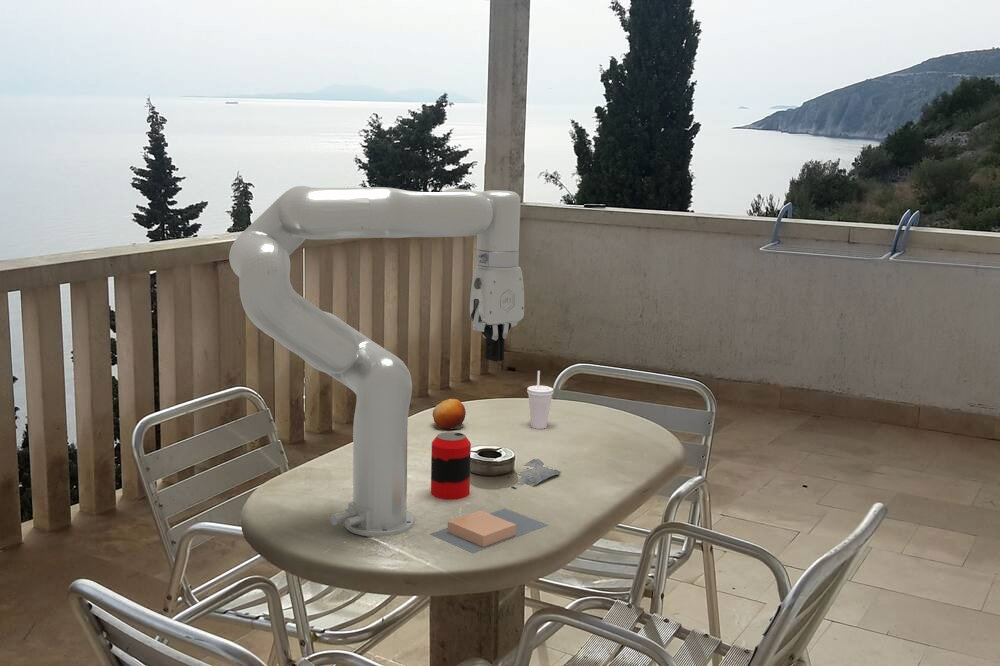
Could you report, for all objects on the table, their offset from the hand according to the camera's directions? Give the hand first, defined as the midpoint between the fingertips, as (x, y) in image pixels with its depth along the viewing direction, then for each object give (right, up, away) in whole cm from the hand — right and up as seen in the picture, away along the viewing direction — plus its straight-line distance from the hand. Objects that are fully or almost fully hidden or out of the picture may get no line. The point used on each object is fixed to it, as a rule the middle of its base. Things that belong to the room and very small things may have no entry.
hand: (494, 359), depth 184 cm
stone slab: (+7, -26, +25) cm, 37 cm away
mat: (-1, -31, -5) cm, 31 cm away
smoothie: (+10, -18, +62) cm, 65 cm away
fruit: (-11, -18, +60) cm, 63 cm away
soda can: (-9, -27, +13) cm, 31 cm away
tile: (+1, -29, -5) cm, 29 cm away
